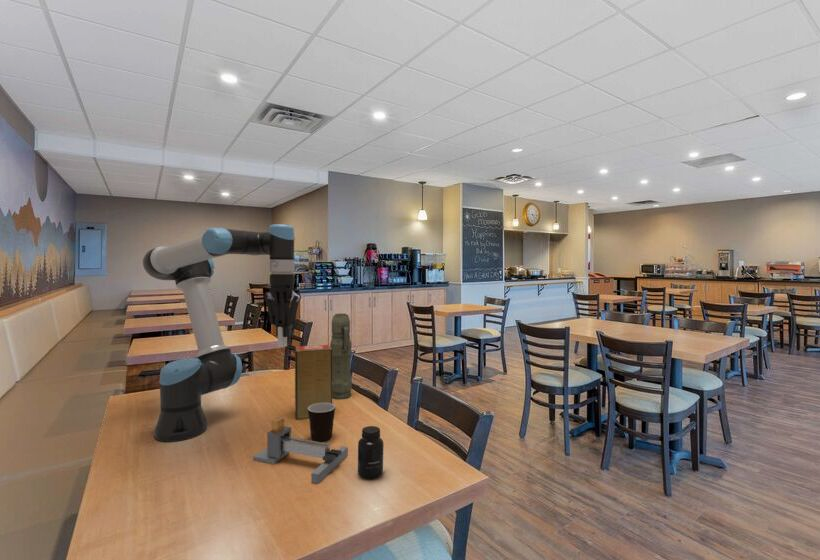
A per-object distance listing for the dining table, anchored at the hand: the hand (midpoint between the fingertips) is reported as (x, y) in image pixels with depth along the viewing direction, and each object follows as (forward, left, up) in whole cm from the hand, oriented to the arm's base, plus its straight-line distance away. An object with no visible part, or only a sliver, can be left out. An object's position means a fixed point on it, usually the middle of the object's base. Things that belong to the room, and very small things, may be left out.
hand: (282, 346), depth 126 cm
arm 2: (+17, -11, -26) cm, 33 cm away
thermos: (-2, +42, -30) cm, 51 cm away
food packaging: (-2, +21, -30) cm, 36 cm away
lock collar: (+8, -12, -28) cm, 32 cm away
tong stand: (+14, -12, -29) cm, 35 cm away
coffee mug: (+12, +5, -30) cm, 32 cm away
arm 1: (+17, -13, -26) cm, 34 cm away
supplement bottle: (+36, -11, -30) cm, 48 cm away
